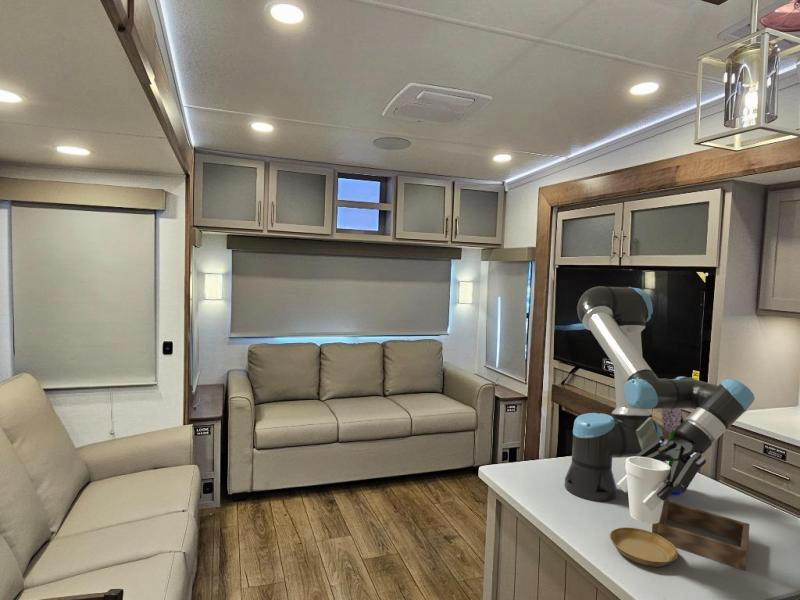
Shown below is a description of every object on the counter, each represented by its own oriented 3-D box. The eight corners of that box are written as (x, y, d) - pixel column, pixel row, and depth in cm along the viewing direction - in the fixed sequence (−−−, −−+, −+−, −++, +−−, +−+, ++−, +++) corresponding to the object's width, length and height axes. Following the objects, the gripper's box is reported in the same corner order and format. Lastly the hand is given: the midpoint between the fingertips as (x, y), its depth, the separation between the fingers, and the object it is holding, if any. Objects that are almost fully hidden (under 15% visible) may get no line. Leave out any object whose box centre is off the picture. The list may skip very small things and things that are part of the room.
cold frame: (629, 531, 124) (635, 429, 123) (642, 509, 137) (648, 416, 136) (745, 570, 109) (753, 454, 108) (748, 541, 122) (756, 437, 121)
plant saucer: (692, 566, 110) (693, 555, 110) (643, 577, 105) (644, 565, 105) (641, 533, 124) (641, 523, 124) (595, 541, 119) (596, 531, 119)
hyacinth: (695, 499, 145) (702, 402, 144) (659, 494, 147) (665, 399, 146) (684, 486, 154) (691, 395, 152) (650, 482, 156) (656, 392, 154)
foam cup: (650, 530, 107) (653, 472, 107) (614, 512, 115) (617, 459, 115) (675, 522, 111) (679, 467, 111) (639, 506, 119) (642, 454, 119)
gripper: (746, 458, 104) (675, 531, 102) (676, 429, 126) (616, 488, 124) (725, 434, 103) (654, 506, 101) (658, 409, 125) (598, 468, 123)
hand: (633, 496), depth 113 cm, fingers closed on foam cup, 9 cm apart
